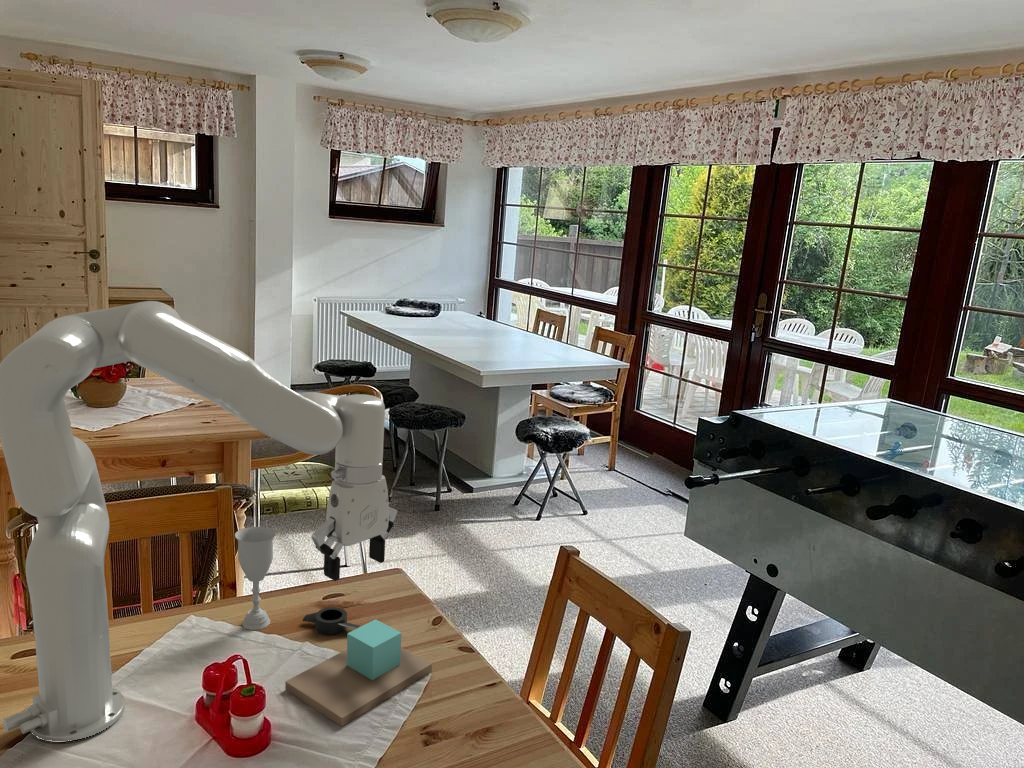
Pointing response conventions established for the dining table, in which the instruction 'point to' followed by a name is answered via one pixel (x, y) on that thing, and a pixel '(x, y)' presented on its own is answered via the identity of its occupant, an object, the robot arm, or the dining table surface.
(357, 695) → the stub board
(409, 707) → the dining table surface
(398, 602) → the dining table surface
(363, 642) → the turquoise rounded cube
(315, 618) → the dark grey ring piece
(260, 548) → the chalice
